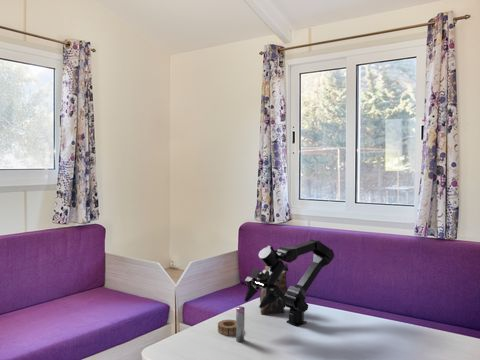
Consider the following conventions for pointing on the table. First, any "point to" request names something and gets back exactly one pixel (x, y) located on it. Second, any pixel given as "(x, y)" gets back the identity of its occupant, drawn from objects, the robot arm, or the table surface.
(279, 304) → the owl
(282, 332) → the table surface
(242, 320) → the purple capped tube
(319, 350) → the table surface
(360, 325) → the table surface
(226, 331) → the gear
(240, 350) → the table surface
